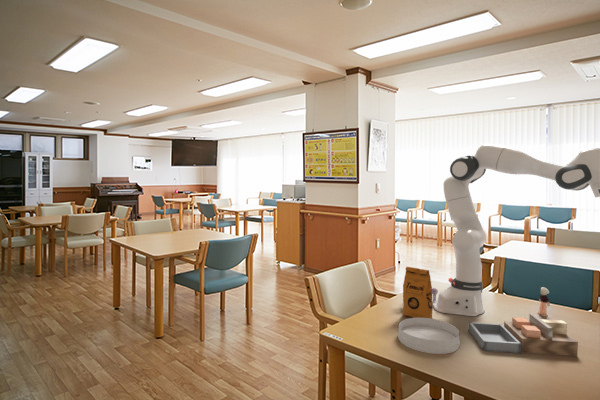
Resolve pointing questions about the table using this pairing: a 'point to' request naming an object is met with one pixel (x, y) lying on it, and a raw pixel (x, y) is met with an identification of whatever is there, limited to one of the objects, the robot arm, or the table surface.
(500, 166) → the robot arm
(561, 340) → the walnut board
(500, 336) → the box
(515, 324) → the terracotta tile
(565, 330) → the scraper
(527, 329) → the terracotta tile
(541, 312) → the grandmother figurine
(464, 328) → the table surface
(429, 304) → the coffee package
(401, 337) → the dish
